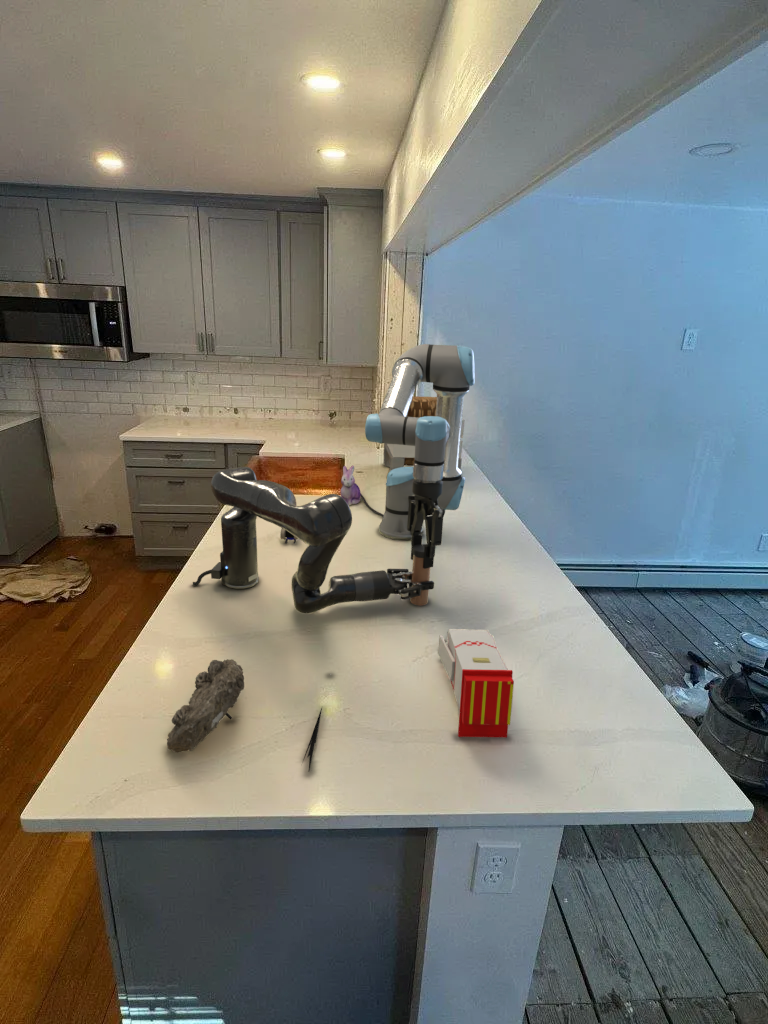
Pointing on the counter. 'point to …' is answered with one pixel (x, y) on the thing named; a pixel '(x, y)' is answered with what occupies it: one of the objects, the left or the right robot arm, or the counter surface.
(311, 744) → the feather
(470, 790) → the counter surface
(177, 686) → the counter surface
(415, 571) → the jar
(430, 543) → the right robot arm
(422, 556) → the lid
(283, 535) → the figurine character
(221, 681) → the fossil
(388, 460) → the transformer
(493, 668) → the toy
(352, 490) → the figurine
